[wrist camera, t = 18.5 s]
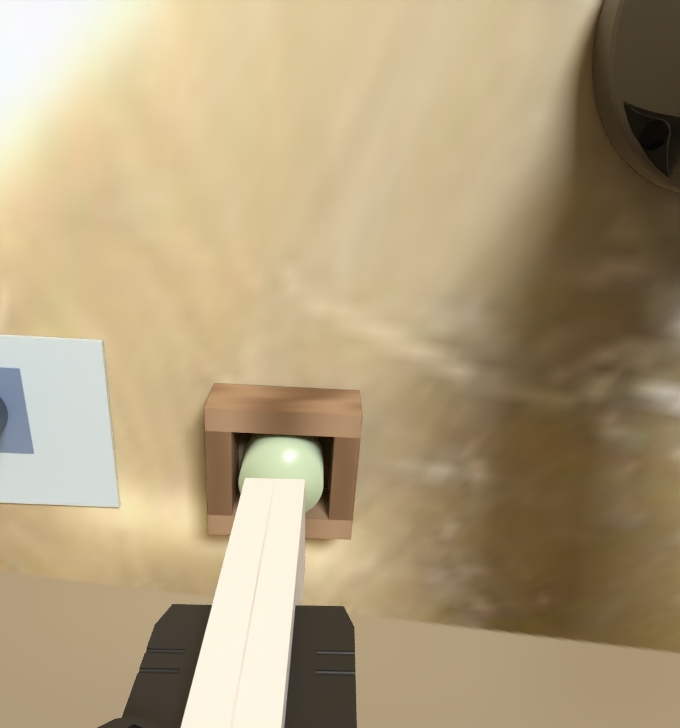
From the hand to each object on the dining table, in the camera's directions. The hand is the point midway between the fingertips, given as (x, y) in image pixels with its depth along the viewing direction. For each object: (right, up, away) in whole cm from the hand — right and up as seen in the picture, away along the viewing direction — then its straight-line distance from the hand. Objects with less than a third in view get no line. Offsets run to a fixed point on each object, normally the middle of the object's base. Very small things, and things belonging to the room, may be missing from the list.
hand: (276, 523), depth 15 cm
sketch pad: (-21, 0, +22) cm, 30 cm away
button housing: (-2, -1, +23) cm, 23 cm away
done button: (-2, -2, +22) cm, 22 cm away
